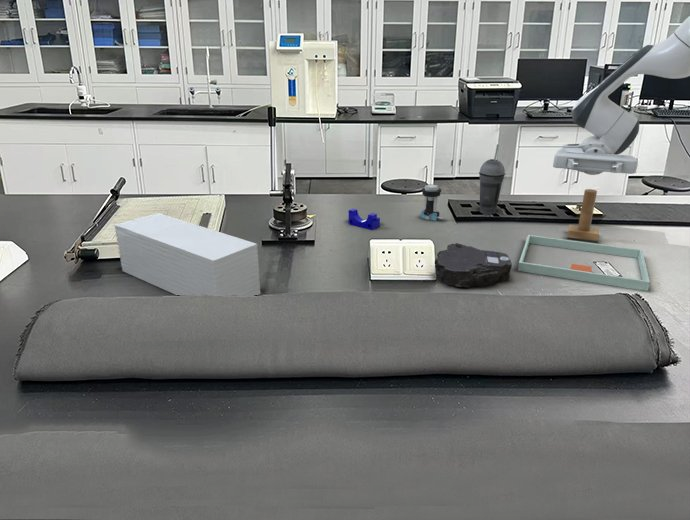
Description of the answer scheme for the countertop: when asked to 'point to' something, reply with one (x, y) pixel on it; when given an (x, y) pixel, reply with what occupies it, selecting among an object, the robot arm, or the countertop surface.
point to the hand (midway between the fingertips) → (594, 168)
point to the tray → (584, 275)
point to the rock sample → (471, 266)
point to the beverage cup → (490, 184)
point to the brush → (585, 220)
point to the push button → (430, 202)
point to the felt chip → (581, 268)
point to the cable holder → (369, 223)
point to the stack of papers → (187, 257)
